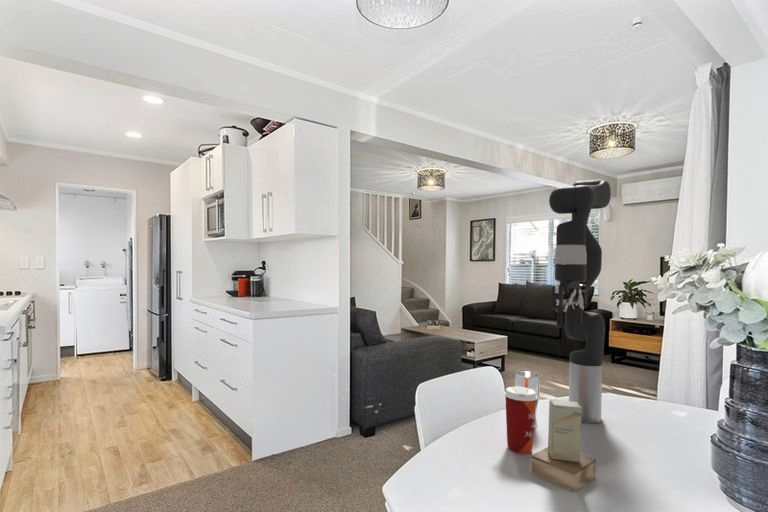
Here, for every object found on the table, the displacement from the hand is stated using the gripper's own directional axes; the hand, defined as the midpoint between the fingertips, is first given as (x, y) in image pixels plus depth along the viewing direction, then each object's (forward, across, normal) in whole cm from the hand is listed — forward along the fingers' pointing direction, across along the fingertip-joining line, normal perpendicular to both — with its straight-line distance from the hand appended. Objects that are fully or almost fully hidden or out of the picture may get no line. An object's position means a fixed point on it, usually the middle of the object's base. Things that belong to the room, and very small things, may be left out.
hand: (569, 325), depth 110 cm
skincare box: (+28, +14, +6) cm, 32 cm away
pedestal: (+32, +14, +6) cm, 35 cm away
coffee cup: (+32, +10, -8) cm, 35 cm away
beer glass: (+32, -7, -16) cm, 37 cm away
